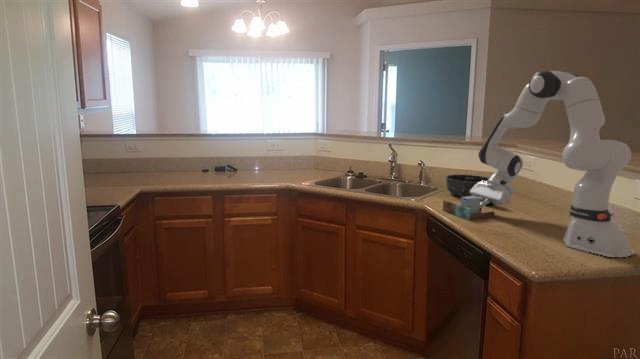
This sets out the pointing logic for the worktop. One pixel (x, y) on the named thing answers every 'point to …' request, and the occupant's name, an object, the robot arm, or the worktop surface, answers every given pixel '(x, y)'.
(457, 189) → the bundt pan
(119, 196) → the worktop surface
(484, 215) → the slot comb
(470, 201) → the medicine box
